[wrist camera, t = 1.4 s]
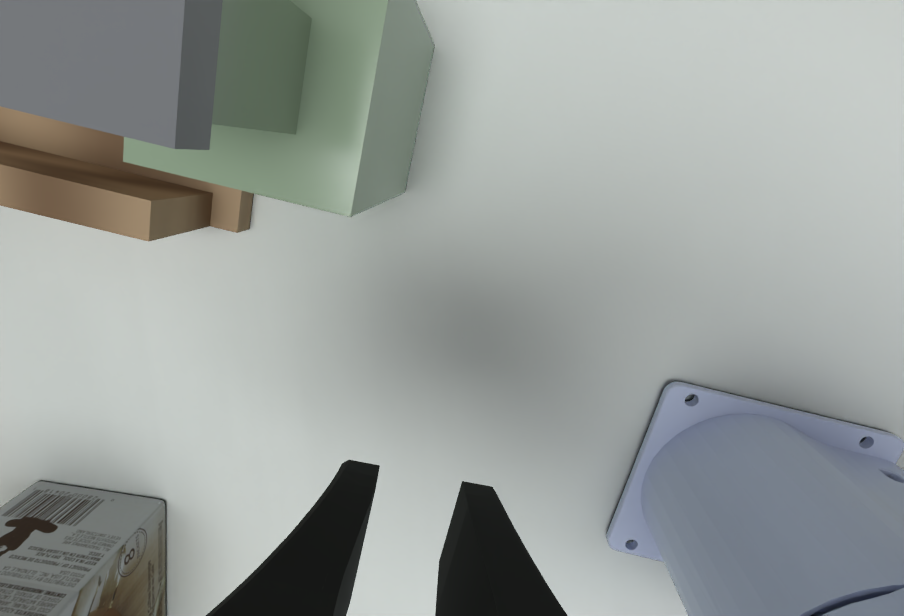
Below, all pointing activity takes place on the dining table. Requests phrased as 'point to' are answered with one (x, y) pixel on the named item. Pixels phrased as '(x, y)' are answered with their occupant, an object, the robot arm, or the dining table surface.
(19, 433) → the dining table surface
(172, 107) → the bottle
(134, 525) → the coffee box
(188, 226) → the cradle
